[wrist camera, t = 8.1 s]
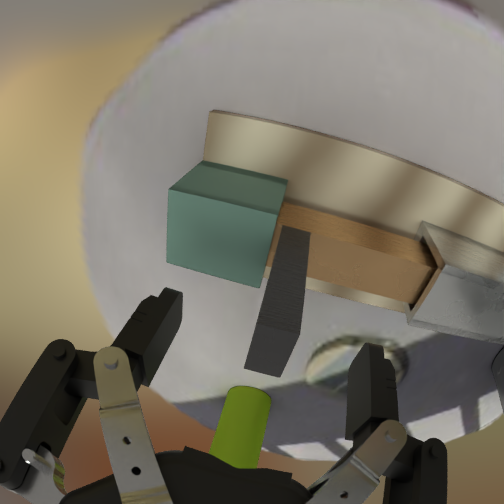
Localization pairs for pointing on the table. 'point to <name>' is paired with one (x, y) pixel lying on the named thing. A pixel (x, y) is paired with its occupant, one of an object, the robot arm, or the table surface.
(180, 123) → the table surface
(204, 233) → the socket block
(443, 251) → the outer sleeve
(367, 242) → the inner bar
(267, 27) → the table surface
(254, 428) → the soap dispenser
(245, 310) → the table surface
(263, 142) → the base board
